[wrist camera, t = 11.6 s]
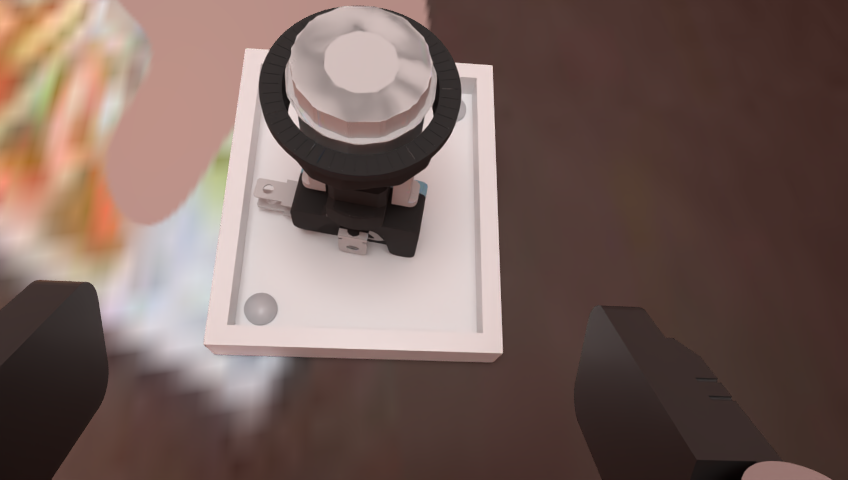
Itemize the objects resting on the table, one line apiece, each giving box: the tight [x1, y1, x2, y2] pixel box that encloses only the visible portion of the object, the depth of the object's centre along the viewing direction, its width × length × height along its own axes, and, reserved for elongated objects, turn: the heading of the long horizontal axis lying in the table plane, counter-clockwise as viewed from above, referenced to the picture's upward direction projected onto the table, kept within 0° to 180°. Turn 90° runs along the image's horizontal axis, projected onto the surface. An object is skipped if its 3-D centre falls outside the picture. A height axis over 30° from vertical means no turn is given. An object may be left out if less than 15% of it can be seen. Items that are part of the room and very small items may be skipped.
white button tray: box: [204, 48, 503, 362], centre depth 25 cm, size 10×12×2 cm
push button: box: [253, 6, 462, 258], centre depth 20 cm, size 7×5×10 cm
